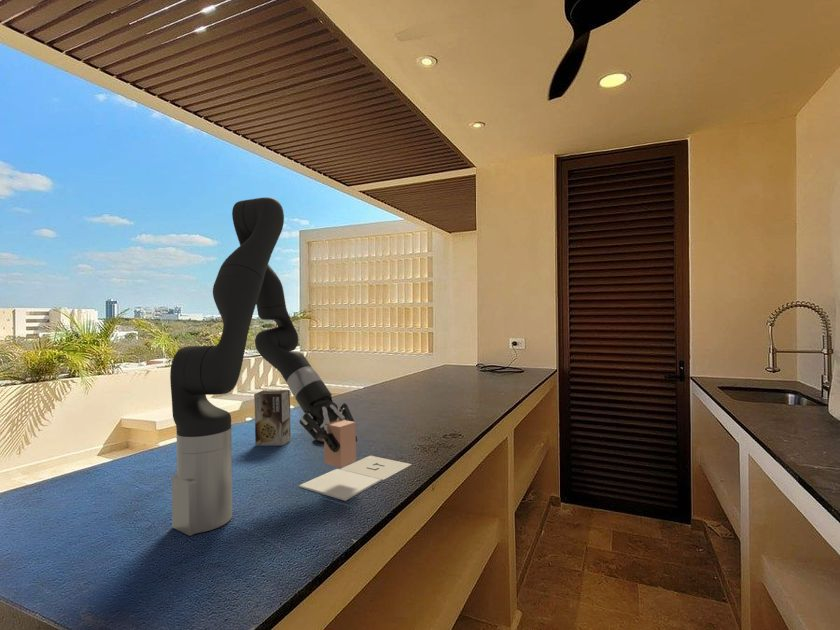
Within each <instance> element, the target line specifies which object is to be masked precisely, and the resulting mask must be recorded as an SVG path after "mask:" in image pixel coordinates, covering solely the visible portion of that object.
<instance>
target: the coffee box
mask: <svg viewBox="0 0 840 630" xmlns="http://www.w3.org/2000/svg"><path fill="white" fill-rule="evenodd" d="M290 394H291V391H290V389H286V390H285V389H272V390H271V389H269V390H266V389H265V390H261V391H258V392H256V393H254V394H253V395H254V396H253V397H254V399H253V400H254V433H255V434H254V435H255V436H254V437H255V444H254V445H255V446H260V447H261V446H263V447H264V446H265V447H267V446H277V447H278V446H285V445H286V444H287V443H289V442H290V441H291V437H292V436H291V397H290V396H291V395H290Z"/></svg>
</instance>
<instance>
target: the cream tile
mask: <svg viewBox="0 0 840 630" xmlns="http://www.w3.org/2000/svg"><path fill="white" fill-rule="evenodd" d="M412 465H413V464H411V463H408V462H403V461H398V460H393V459H388V458H385V457H384V458H383V457H378V456H374V455H368V456H366V457H364V458H361V459H359V460H356V461H354V462H352V463H350V464H348V465H346V466H343V467H341V468H340V470H344V471H348V472H353V473H357V474H361V475H365V476H369V477H373V478H377V479H381V481H382V480H383V481H384V480H386V479H387V478H390V477H392V476H394V475H396V474H397V473H399V472H401V471H402V470H404V469H406V468H408V467H410V466H412Z"/></svg>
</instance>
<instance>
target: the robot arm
mask: <svg viewBox="0 0 840 630" xmlns="http://www.w3.org/2000/svg"><path fill="white" fill-rule="evenodd" d="M231 215H232V221H233V227H234V231H235V234H236V237H237V240H238V243H239V246H238V247H237V248H236V249H235V250H234V251H233V252H231V253H230V254H229V255H228V256H227V258H225V260H224V261H223V262H222V264H221V266H220V268H219V269H218V272H217V275H216V278H215V281H214V282H213V286H212V287H213V288H212V297H213V300H214V303H215V306H216V308H217V310H218V311H217V312H218V313H219V314H220V317H221V320H222V325H223V326H222V332H221V336H220V340H219V342H218V344H217V345H194V346H193V345H192V346H191V345H190V346H184V347H181V348H180V349H179V350H178V351H177V352H176V353H175V355H174V356H173V358H172V362H171V363H170V364H171V365H170V372H169V373H170V374H169V375H170V378H169V379H170V392H171V409H172V410H171V411H172V419H173V422H174V424H175V428H176V474H173V475H172V477H171V501H172V502H171V513H172V514H171V522H172V523H171V527H172V528H173V529H175V530H177V531H179V532H181V533H183V534H184V535H187V536H193V535H195V534H201V533H205V532H208V531H212V530H216V529H218V528H221V527H222V526H224V525H226V524H227V523H229V522H230V520H231V519H232V517H233V481H232V480H233V476H232V475H233V471H232V470H233V469H232V468H233V467H232V465H233V464H232V459H233V458H232V454H233V453H232V449H233V448H232V417H231V414H230V412H228V411H227V410H225V409H222V408H220V407H218V406H216V405H215V404H213V403H211V401H209V400H208V398H207V395H209V396H210V395H211V396H212V395H213V396H217V395H226V394H228V393H230V392H232V390H234V388H235V387H236V385H237V383H238V381H239V378H240V375H241V371H242V366H243V362H244V356H245V351H246V345H247V342H248V336H249V335H248V334H249V330H250V326H251V323H252V320H253V317H254V316H253V315H254V312H255V309H256V310H257V314H258V317H259V319H261V320H264V321H271V320H272V321H274V322H275V323H276V325H277V327H273V328H269V329H268V328H267V329H264V330H261V331H260V332H258V333H257V334H256V336H255V339H254V345H255V348H256V350H257V352H258V354H259V355H260V356H261V357H262V358H263V359H264V360H265V361H266V362H268V363H269V364H270V365H271V366H272V367H273V368H274V369H276V370H277V371H278V372H279V373H280V375H281V376H282V378H283V379H284V381H285V383H286V385H288V388H289V389H288V390H290V394H292V396H293V397H294V399H295V400H296V402H297V404H298V405H299V406H300V408H301V410H302V412H303V413H304V414H303V416H302V417H301V418H300V420H299V421H298V422H299V424H300V425H301V426H302V427H303V428H304V429H305V431H306V432H307V433H308V434H310V436H311V437H312V438H313V439H314V440H316V441H318V439H322V440H325V442H326V443H327V445H328V446H329V448H330V449H331V450H332V451H333V452H334V453H335V452H337V451H338V450H339V449H340V444H339V443H338V441H337V440H336V438H335V437H334V435H333V433H332V434H330V433H331V430H330V428H329V427H328V425H329V424H330V422H333V421H336V420H346V421H352V422H355V420H354V417H353V415H352V413H351V411H350V408H349V406H348V404H347V403H345V402H344V403H342V404H341V405H338V404H337V403H335V402H334V400H333V398H332V392H331V391H330V390H329V388H328V387H327V385H326V384H325V382H324V381H323V379H322V378H321V376H320V375H319V374H318V372H316V370H315V369H314V368H313V367H312V365H311V364H310V362H309V361H308V360H307V358H306V357H305V355H304V354H303V353H302V352H300V351H294V350H296V349H297V347H298V344H299V334H298V331H297V330H296V327H295V325H294V324H293V321H292V319H291V317H290V315H289V312H288V309H287V305H286V298H285V291H284V286H283V283H282V281H281V279H280V278H279V276H278V274H277V273H276V272H275V271H274V270H273V267H271V266H270V264H269V262H270V260H271V257H272V254H273V252H274V249H275V247H276V245H277V243H278V240H279V238H280V237H281V236H280V235H281V234H282V231H283V227H284V222H285V213H284V209H283V206H282V204H281V202H279V200H277V199H276V198H274V197H258V198H257V197H256V198H251V199H244V200H239V201H237V202H235V204H233V206H232V211H231ZM324 429H325V430H324ZM314 430H316V431H317V433H316V432H315V431H314ZM357 442H358V436H357V435H356V443H357Z"/></svg>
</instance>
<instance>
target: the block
mask: <svg viewBox="0 0 840 630" xmlns="http://www.w3.org/2000/svg"><path fill="white" fill-rule="evenodd" d="M328 427H329V428H330V430H331V433H330V434H332V433H333V435H334V437H335V438H336V440H337V441H338V443H339V444H340V449H339V450H338V451H337V452H335V453H334V452H333V451H332V450H331V449H330V448H329V446H328V445H327V443H326V442H325V440H324V442H323V443H324V444H323V445H324V464H325V465H329V466H333V467H337V468H339V469H341V468H343V467H345V466H348V465H350V464H352V463H354V462H357V446H356V445H357V444H356V443H357V442H356V436H357V435H356V434H357V433H356V421H354V422H352V421H349V420H348V421H346V420H339V419H337V420H336V421H333V422H330V424H329V425H328ZM324 430H325V429H324Z"/></svg>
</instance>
